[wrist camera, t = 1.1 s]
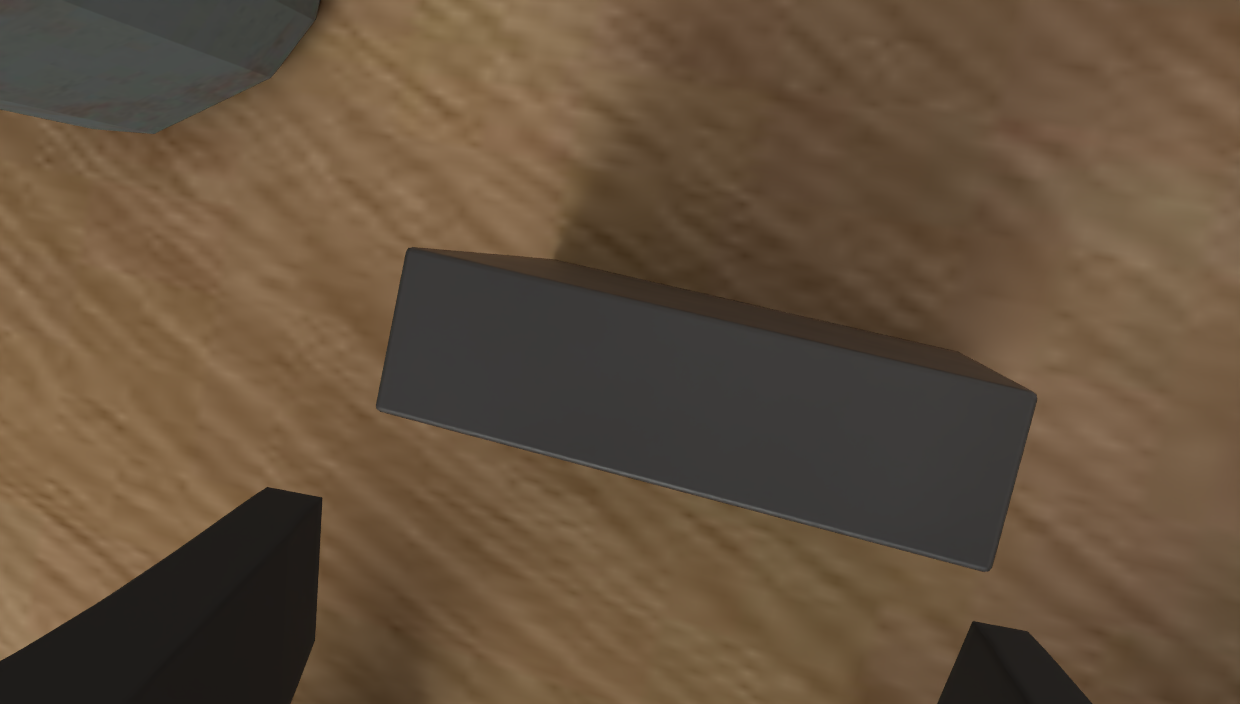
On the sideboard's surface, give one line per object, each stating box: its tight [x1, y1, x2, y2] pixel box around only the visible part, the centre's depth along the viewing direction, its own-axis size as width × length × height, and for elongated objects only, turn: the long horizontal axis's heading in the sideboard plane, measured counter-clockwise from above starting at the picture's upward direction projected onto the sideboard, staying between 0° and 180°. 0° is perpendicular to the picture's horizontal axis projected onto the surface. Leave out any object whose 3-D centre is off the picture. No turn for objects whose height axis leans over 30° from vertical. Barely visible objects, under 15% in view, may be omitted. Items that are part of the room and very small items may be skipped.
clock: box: [376, 247, 1037, 572], centre depth 18 cm, size 3×9×8 cm, turn 77°
